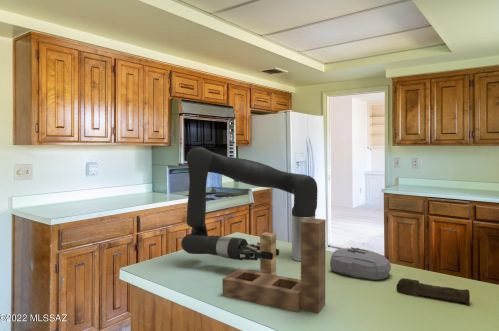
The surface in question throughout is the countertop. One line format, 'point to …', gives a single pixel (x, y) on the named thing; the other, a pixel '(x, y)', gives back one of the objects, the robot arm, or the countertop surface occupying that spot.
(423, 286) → the hand tool
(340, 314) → the countertop surface
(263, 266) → the rail bar
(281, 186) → the robot arm
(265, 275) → the wooden peg socket stand
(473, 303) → the countertop surface
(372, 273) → the small grey backpack
